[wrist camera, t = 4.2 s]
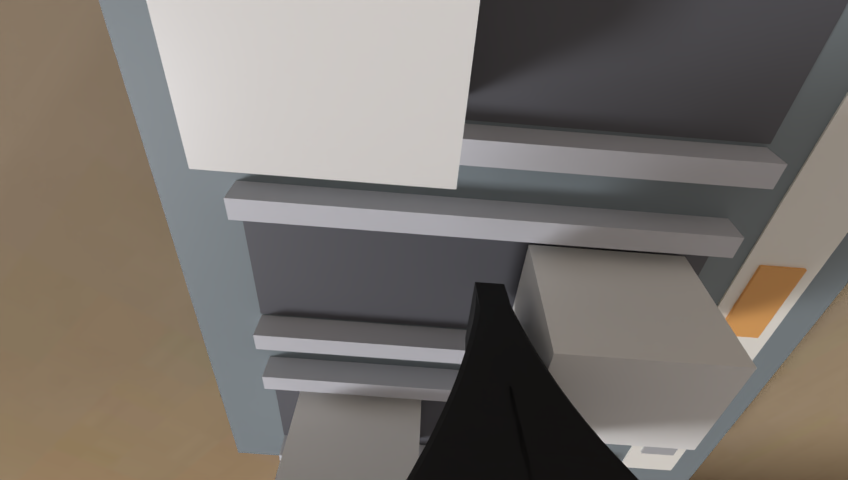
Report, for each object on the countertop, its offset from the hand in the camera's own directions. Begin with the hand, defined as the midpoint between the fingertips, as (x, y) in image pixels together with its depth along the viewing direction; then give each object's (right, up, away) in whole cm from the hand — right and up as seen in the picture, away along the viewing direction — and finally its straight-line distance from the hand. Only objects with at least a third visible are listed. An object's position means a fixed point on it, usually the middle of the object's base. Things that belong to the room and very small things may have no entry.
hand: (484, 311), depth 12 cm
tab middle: (+3, 0, +1) cm, 3 cm away
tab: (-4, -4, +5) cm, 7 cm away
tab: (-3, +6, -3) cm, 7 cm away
